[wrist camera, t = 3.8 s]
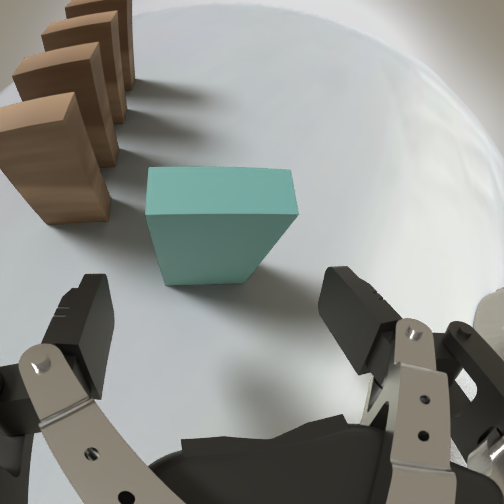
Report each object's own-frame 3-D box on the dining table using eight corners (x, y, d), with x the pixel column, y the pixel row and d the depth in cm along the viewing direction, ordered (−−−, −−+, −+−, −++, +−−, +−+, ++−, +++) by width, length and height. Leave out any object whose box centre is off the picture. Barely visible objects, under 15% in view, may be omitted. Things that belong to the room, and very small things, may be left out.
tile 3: (62, 153, 19) (24, 57, 10) (118, 148, 20) (98, 41, 11) (57, 171, 19) (12, 76, 10) (115, 166, 20) (89, 58, 11)
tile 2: (50, 202, 18) (-8, 110, 9) (111, 198, 19) (74, 91, 10) (46, 224, 17) (-22, 137, 8) (108, 221, 19) (62, 119, 9)
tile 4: (75, 114, 21) (51, 22, 12) (127, 108, 22) (117, 10, 13) (70, 128, 20) (41, 35, 11) (123, 123, 21) (110, 21, 12)
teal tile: (165, 258, 19) (148, 167, 9) (241, 256, 20) (290, 169, 10) (165, 285, 18) (145, 215, 9) (244, 283, 19) (298, 214, 10)
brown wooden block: (87, 83, 22) (73, -1, 13) (135, 78, 23) (132, -11, 14) (82, 94, 22) (64, 7, 12) (132, 89, 23) (126, -3, 13)
